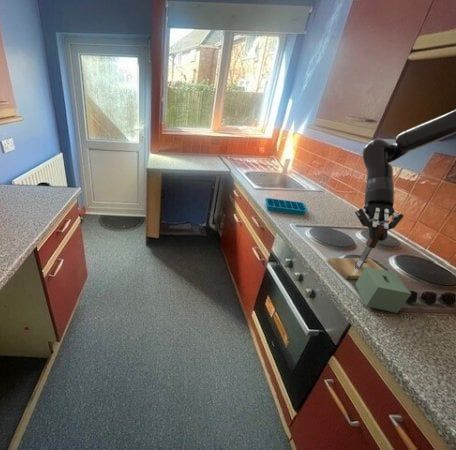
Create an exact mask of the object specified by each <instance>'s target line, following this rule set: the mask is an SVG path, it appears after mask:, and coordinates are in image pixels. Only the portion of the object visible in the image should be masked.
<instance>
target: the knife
mask: <svg viewBox="0 0 456 450" xmlns="http://www.w3.org/2000/svg"><path fill="white" fill-rule="evenodd" d="M376 228H377V239H374V240H372V239H371V238H370V237H369V236H368V239H367V240H366V242H365V245H366V246H365V248H363V249H364V250H363V251H362V253H361V254H360V257H358V258H359V260H358V262H357V265H358V267H359V268H361V267H362V265H363V264H364V262H365V260H366V258H369V255H370V253H371V251H372V250H373V249H375V248H376V246H377V245H378V243H379V242H380V241H379V239H380V237H381V236H382V234H383V232H384V231H385V228H384V226H383V225H379V224H377V227H376Z"/></svg>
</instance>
